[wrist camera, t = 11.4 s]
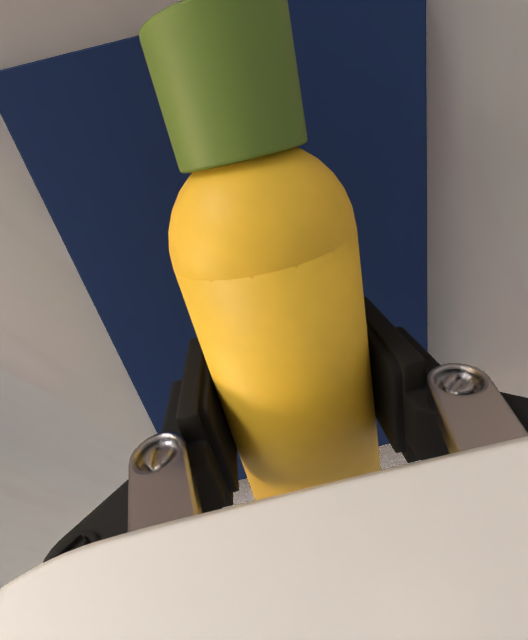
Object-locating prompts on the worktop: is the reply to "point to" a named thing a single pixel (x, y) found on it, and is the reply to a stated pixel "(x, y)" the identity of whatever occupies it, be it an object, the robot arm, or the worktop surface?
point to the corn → (264, 245)
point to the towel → (166, 179)
